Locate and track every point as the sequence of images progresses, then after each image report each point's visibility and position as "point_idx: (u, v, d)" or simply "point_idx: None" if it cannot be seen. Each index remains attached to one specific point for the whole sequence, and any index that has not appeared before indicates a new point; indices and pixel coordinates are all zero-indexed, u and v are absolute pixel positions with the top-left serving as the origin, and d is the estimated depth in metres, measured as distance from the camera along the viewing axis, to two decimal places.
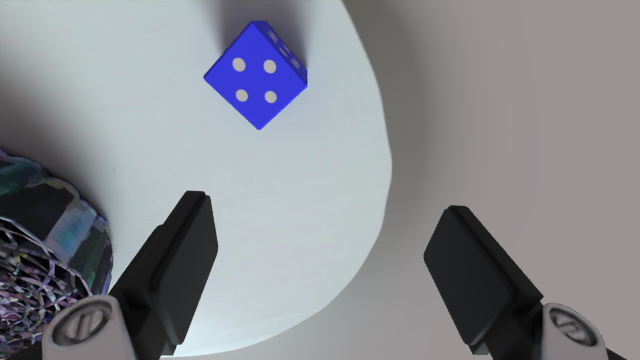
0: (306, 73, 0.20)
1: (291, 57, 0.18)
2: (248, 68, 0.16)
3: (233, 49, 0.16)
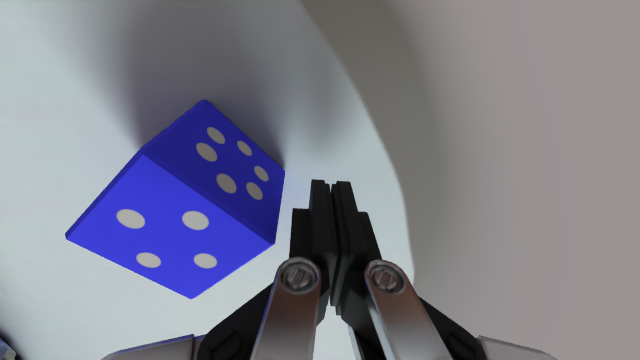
0: (281, 186, 0.12)
1: (250, 171, 0.10)
2: (152, 224, 0.08)
3: (112, 196, 0.07)
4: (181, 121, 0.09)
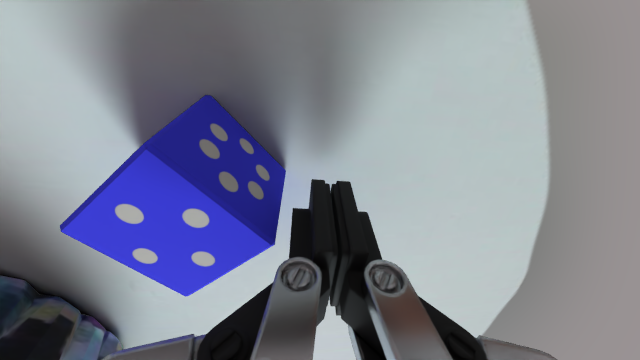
0: (281, 186, 0.11)
1: (252, 170, 0.10)
2: (152, 220, 0.08)
3: (111, 190, 0.07)
4: (185, 116, 0.08)
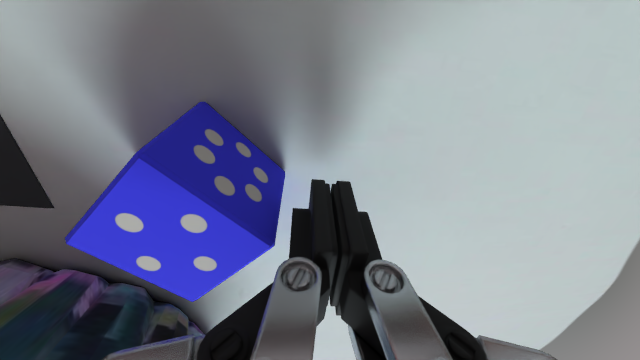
0: (280, 187, 0.11)
1: (249, 173, 0.10)
2: (151, 227, 0.08)
3: (110, 201, 0.07)
4: (178, 124, 0.09)
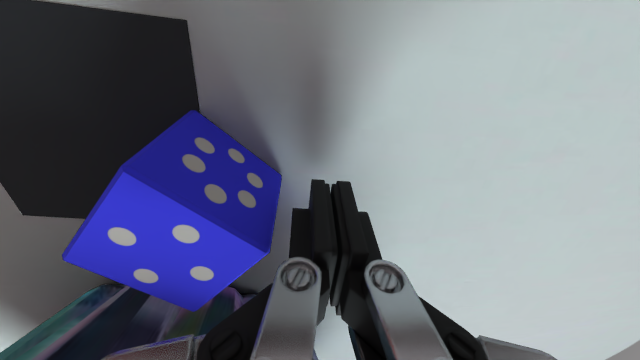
0: (276, 191, 0.11)
1: (243, 179, 0.10)
2: (144, 240, 0.08)
3: (100, 216, 0.07)
4: (166, 134, 0.08)
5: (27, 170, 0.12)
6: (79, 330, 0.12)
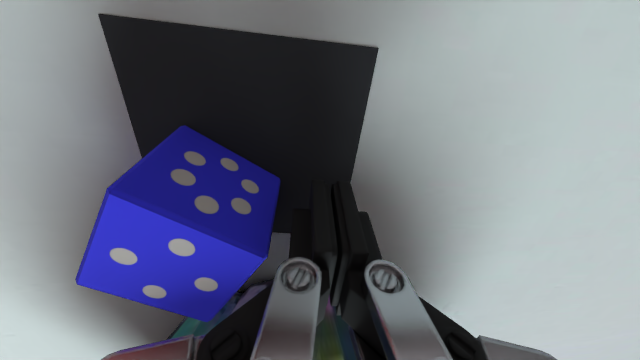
0: (274, 195, 0.11)
1: (236, 186, 0.10)
2: (144, 257, 0.08)
3: (99, 239, 0.08)
4: (154, 152, 0.09)
5: None
6: None
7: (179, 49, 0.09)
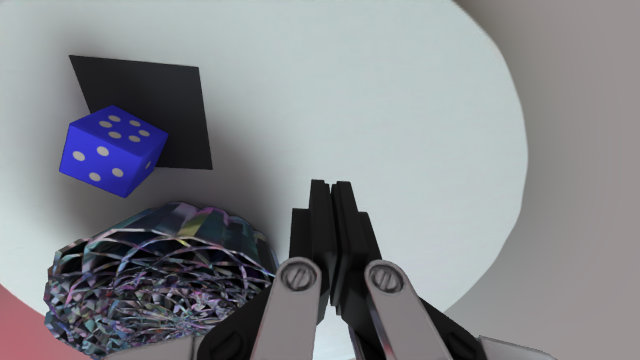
0: (159, 138, 0.23)
1: (135, 132, 0.22)
2: (88, 156, 0.20)
3: (68, 146, 0.19)
4: (92, 114, 0.20)
5: None
6: (146, 215, 0.24)
7: (106, 69, 0.21)
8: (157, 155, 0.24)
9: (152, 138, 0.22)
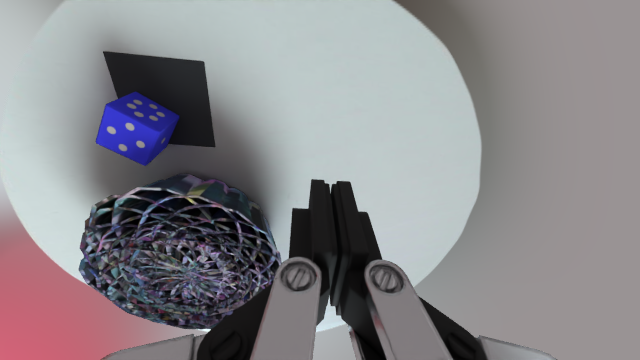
0: (172, 119, 0.28)
1: (153, 113, 0.27)
2: (118, 131, 0.25)
3: (103, 122, 0.25)
4: None
5: None
6: (161, 181, 0.29)
7: (131, 63, 0.27)
8: (170, 133, 0.30)
9: (167, 118, 0.28)
